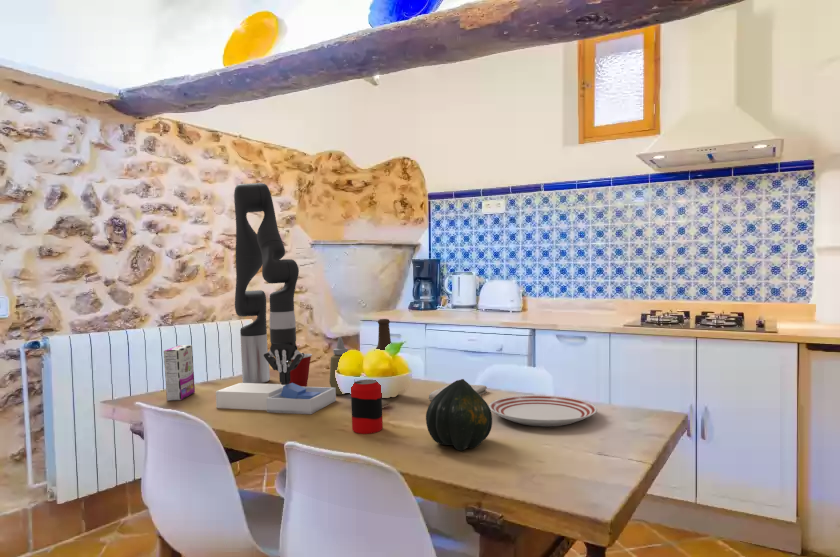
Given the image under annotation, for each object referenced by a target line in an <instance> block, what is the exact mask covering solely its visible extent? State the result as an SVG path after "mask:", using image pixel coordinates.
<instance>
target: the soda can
mask: <svg viewBox="0 0 840 557" xmlns="http://www.w3.org/2000/svg"><path fill="white" fill-rule="evenodd" d="M350 402H351V406H350V407H351V427H352V428H351V429H352V431H353V432H354V433H356V434H360V435H368V434H369V435H370V434H376V433H379V432H381V430H382V429H383V427H384V425H383V424H384V423H383V399H382V393H381V385H380V384H379V383H378V382H377V381H376V380H373V379H360V380H355V381H354V384H353V386H352V387H351V393H350Z"/></svg>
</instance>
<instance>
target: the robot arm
mask: <svg viewBox="0 0 840 557" xmlns="http://www.w3.org/2000/svg"><path fill="white" fill-rule="evenodd" d="M233 193H234V194H233V198H234V199H233V201H234V213H235V214H234V215H235V227H236V228H235V274H236V275H235V291H234V292H235V294H234V310H235V314H236V315H237V316H239V317H241V318H243V317H256V319H255V320H254V321H253V322H251V323H249V324H247V325H244V326H242V327H241V328H240V332H239V333H240V334H239V335H240V352H241V353H240V354H241V356H240V357H241V376H242V377H241V378H242V380H241V381H242V383H260V384H265V383H267V382H269V381H270V380H271V374H270V367H271V369H272V370H273V371H277V372H278V374H279V375H278V376H279V384H281V385H287V384H289V382H290V371H291V370H294V369H296V367H297V366H298V364H299V363H300V361H301V360H302V358H303V357H304V354H305V353H304V352H300V350H298V346H297V329H296V328H297V327H296V325H297V322H296V315H295V292H296V287H297V282H298V279H299V273H300V272H299V271H300V270H299V268H300V267H299V265H298V264H297V262H296V260H294V259H292V258H290V259H289V258H284V257H285V254H286V248H285V245H284V242H283V240H282V237H281V234H280V232H279V228H278V224H277V222H278V221H277V217H276V212H275V208H274V203H273V202H274V201H273V198H272V194H271V190H270V188H269V186H268V185H267V184H265V183H264V182H263V183H262V182H257V183H256V182H255V183H253V182H252V183H250V182H249V183H239V184H237V185H236V186H235V187H234V192H233ZM259 212H260V213H261V212H263V213H264V214H263V218H262V221H261V223H260V225H259V226H258V229H257V233H256V231H255V230H254V229H253V227H252V225H251V224H250V223H249V220H248V218H247V215H248V213H259ZM282 258H284V259H282ZM261 268H262V269H261ZM259 270H261V274H262V278H263V280H264V281H265V282H266V283H268V284H272V285H273V284H284V285H283V287H282V288H281V289H279V290H277V291H273V292H271V293H270V294H269V298H268V299H269V340H270V341H269V342H270V347H269V348H268V330H267V296H266V292H265V291H264V290H261V289H260V290H259V289H258V290H247V288H248V286H249V284H250V282H251V281H252V279H253V278H254V277H255V276H256V274H258V272H259ZM294 355H295V356H294ZM293 356H294V358H295V359H294V360H293V362H292V358H293Z"/></svg>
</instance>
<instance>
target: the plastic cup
mask: <svg viewBox="0 0 840 557" xmlns="http://www.w3.org/2000/svg"><path fill="white" fill-rule="evenodd" d="M294 356H295V355H294ZM294 356H293V358H292V362H293V360H294V359H295V358H294ZM312 356H313V354H312V353H304V357H303V358H302V360H301V361H300V363H299V364H298V366H297V367H296V369H294V370H291V371H290V382H289V384H290V383H294V384H296V385H299V386H301V387H308V380H309V372H310V366H311V365H310V364H311V358H312Z"/></svg>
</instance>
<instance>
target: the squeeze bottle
mask: <svg viewBox="0 0 840 557" xmlns="http://www.w3.org/2000/svg"><path fill="white" fill-rule="evenodd" d="M332 350H333V355H331V357H330V365H329V366H330V368H329V369H330V370H329V385H330V387H332V388H336V395H338V396H340V395H342V392H341V391H340V389H339V387H338V384H337V381H336V378H335V370H337V367H338V362H339V359H340V357H341V356H342V354H343V353H345V352H347V351H348V352H349V348H348V347H345V343H344V341H343V337H341V336H339V337H338V338H337V343H336V348H333V349H332ZM342 396H343V395H342Z"/></svg>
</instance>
